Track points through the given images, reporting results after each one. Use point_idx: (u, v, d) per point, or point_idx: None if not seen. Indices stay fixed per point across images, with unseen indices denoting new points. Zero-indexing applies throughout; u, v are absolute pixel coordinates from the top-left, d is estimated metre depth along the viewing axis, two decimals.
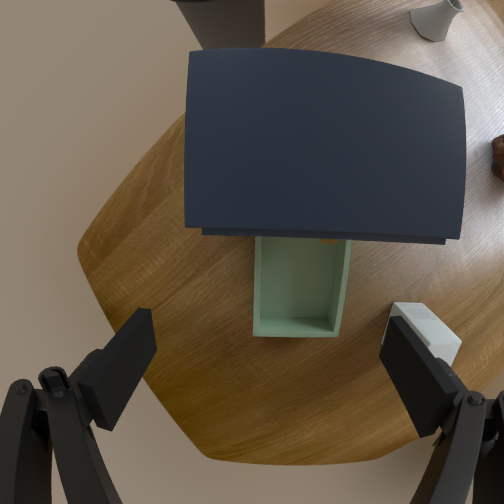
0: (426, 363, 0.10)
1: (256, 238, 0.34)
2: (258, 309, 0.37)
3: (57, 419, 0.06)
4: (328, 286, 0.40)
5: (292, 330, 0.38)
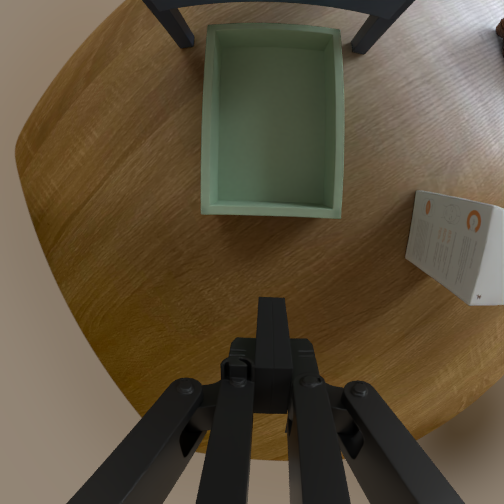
0: (274, 339, 0.12)
1: (206, 62, 0.20)
2: (208, 164, 0.23)
3: (226, 409, 0.08)
4: (319, 151, 0.26)
5: (265, 205, 0.24)
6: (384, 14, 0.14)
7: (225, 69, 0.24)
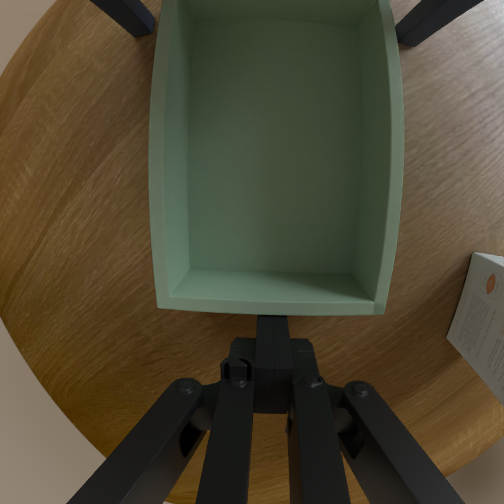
0: (274, 339, 0.12)
1: (158, 42, 0.10)
2: (162, 229, 0.13)
3: (226, 409, 0.08)
4: (351, 191, 0.16)
5: (262, 297, 0.14)
6: None
7: (198, 55, 0.14)
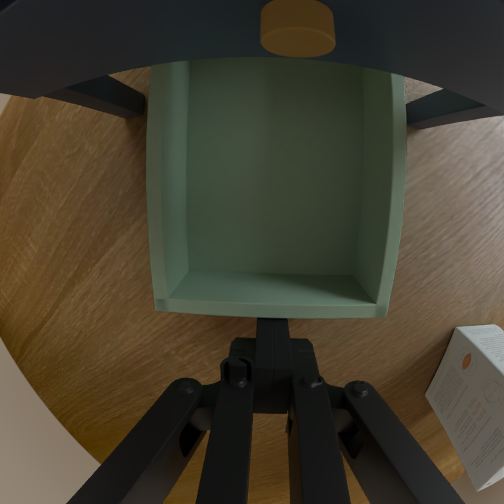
0: (274, 339, 0.12)
1: None
2: (160, 230, 0.13)
3: (226, 409, 0.08)
4: (352, 191, 0.16)
5: (262, 299, 0.14)
6: None
7: None
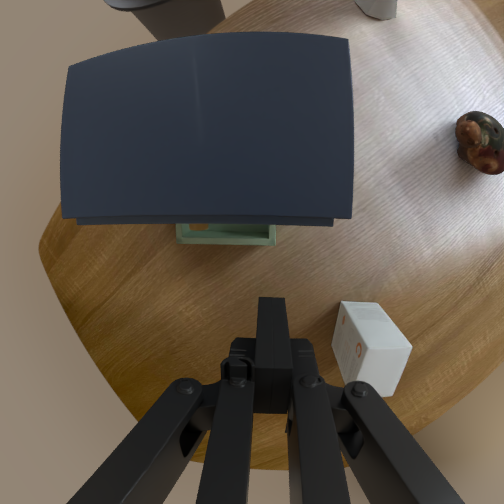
0: (274, 339, 0.12)
1: None
2: None
3: (226, 409, 0.08)
4: None
5: (220, 237, 0.34)
6: None
7: None
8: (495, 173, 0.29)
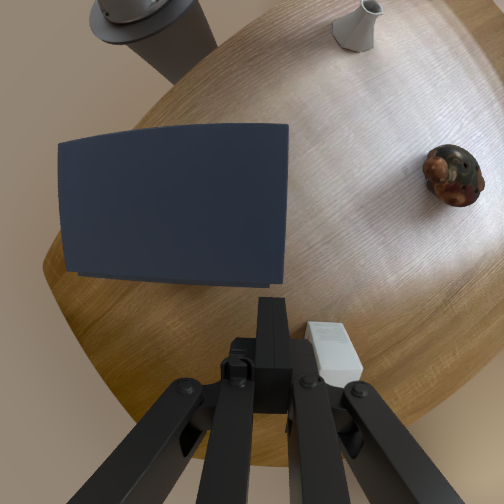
0: (274, 339, 0.12)
1: None
2: None
3: (226, 409, 0.08)
4: None
5: None
6: None
7: None
8: (463, 206, 0.34)
